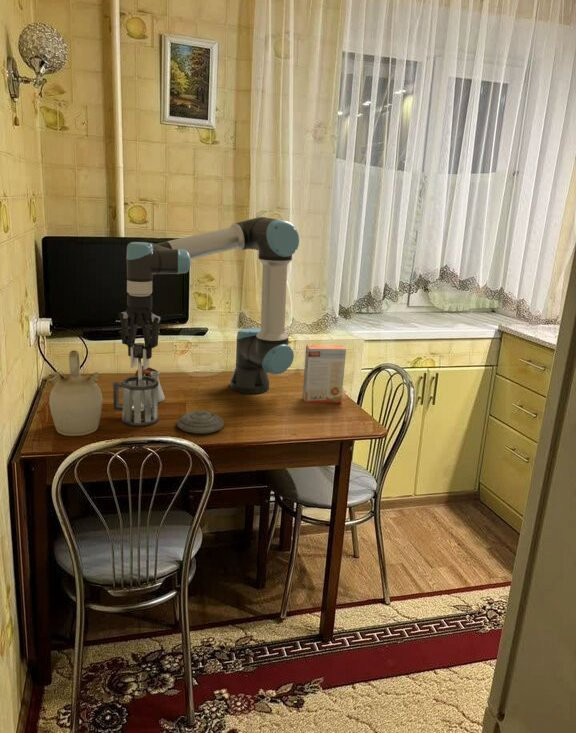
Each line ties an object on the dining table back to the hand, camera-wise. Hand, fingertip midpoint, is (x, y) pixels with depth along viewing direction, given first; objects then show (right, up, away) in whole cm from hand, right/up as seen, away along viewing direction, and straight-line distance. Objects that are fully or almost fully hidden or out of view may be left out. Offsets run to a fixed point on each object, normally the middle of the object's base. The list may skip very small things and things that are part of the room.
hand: (139, 367), depth 191 cm
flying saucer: (+19, -20, +3) cm, 27 cm away
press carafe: (-3, -17, +5) cm, 18 cm away
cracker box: (+59, -13, +35) cm, 70 cm away
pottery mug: (-7, -7, +38) cm, 39 cm away
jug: (-18, -19, -5) cm, 27 cm away
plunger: (-1, -13, +4) cm, 13 cm away
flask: (-1, -12, +24) cm, 27 cm away
